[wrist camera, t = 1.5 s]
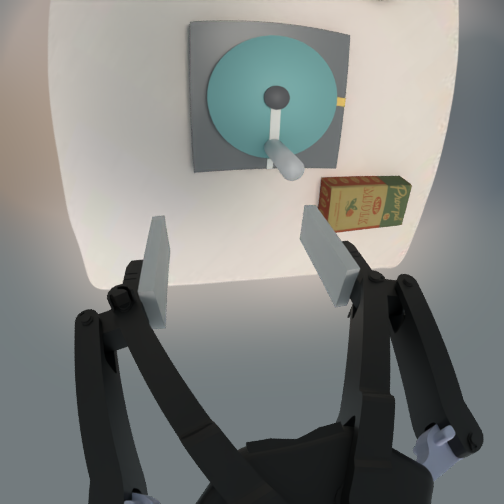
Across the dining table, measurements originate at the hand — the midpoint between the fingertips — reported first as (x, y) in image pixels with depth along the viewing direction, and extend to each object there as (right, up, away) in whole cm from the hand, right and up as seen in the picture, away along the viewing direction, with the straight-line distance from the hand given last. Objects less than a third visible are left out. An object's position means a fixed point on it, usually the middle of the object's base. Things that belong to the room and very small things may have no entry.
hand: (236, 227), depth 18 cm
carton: (+19, +8, +27) cm, 34 cm away
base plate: (+3, +19, +14) cm, 24 cm away
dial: (+4, +18, +12) cm, 22 cm away
